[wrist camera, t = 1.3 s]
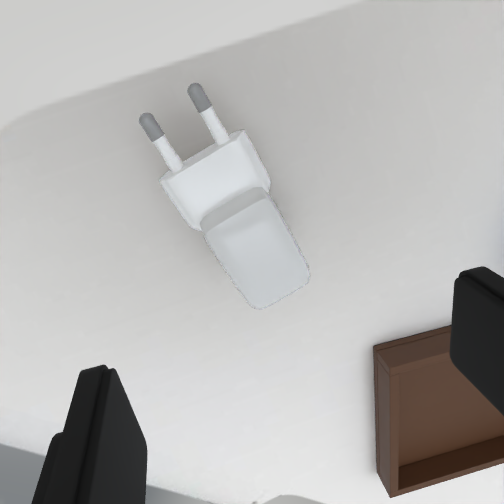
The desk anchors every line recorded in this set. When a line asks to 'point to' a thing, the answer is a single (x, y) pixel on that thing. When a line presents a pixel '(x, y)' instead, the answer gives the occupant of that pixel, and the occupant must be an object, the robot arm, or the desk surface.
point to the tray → (430, 416)
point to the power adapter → (232, 208)
